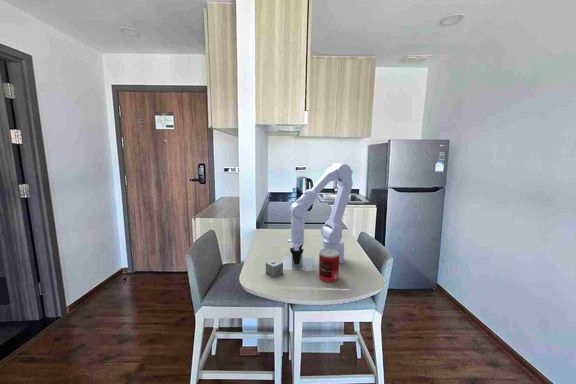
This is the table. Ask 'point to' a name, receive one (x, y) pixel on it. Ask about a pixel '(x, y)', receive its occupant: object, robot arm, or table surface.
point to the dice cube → (274, 267)
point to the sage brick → (300, 260)
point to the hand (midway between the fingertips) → (297, 260)
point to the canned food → (328, 265)
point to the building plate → (306, 265)
